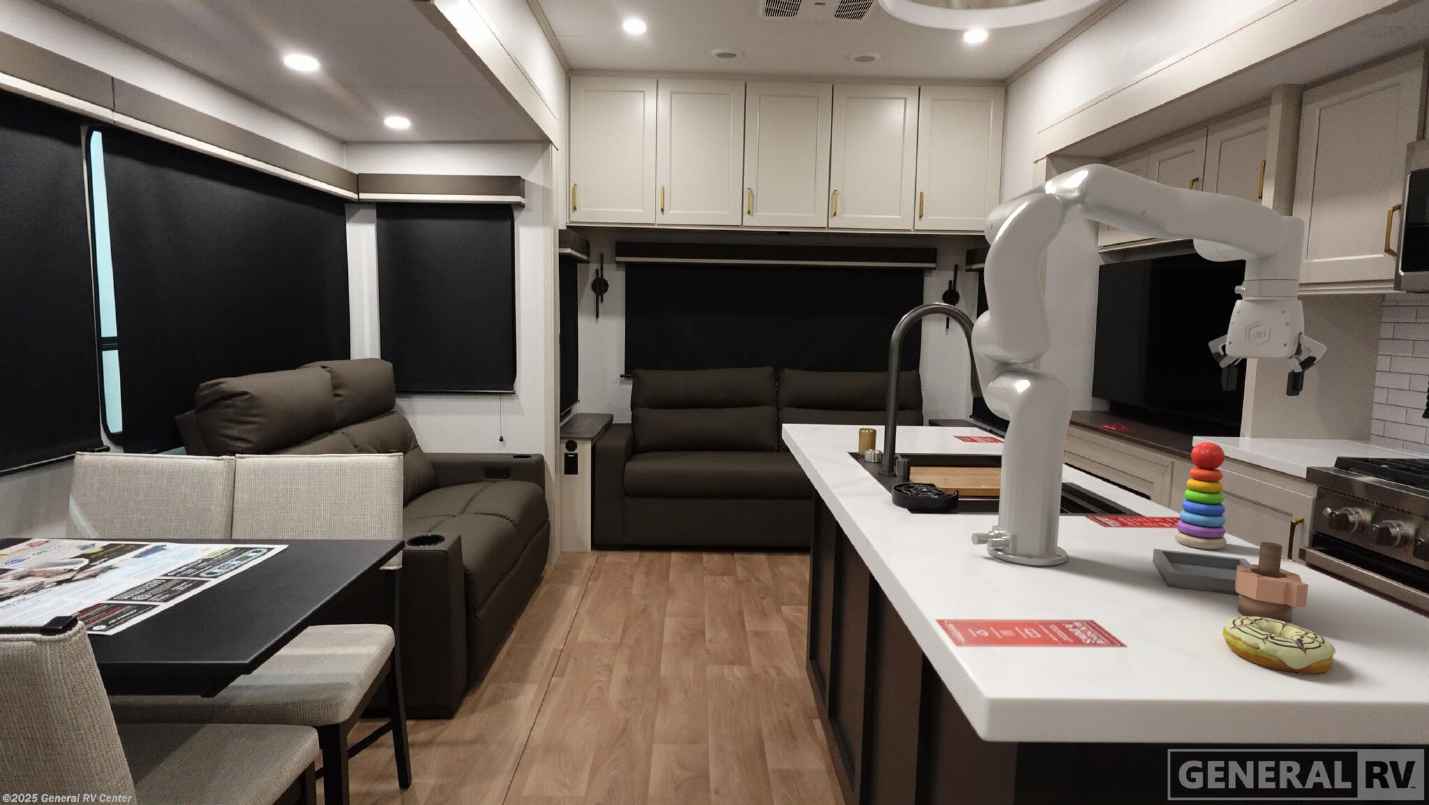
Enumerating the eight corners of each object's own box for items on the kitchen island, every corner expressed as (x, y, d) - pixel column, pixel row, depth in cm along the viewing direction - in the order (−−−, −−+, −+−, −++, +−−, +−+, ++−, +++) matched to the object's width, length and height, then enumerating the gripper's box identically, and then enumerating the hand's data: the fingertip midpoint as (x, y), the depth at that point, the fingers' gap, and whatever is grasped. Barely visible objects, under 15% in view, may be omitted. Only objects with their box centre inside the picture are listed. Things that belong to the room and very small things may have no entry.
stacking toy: (1236, 551, 135) (1246, 446, 133) (1190, 550, 135) (1199, 445, 133) (1208, 538, 143) (1217, 439, 141) (1165, 537, 143) (1173, 438, 141)
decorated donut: (1312, 688, 85) (1315, 655, 84) (1206, 652, 93) (1209, 622, 93) (1345, 664, 91) (1349, 634, 90) (1243, 633, 99) (1246, 605, 99)
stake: (1267, 625, 102) (1274, 552, 100) (1227, 608, 107) (1233, 539, 106) (1302, 622, 103) (1310, 549, 102) (1261, 605, 109) (1268, 537, 108)
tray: (1269, 598, 112) (1271, 584, 111) (1168, 586, 116) (1169, 572, 116) (1243, 571, 124) (1245, 558, 123) (1152, 561, 128) (1153, 548, 128)
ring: (1279, 609, 99) (1281, 586, 99) (1223, 587, 107) (1225, 566, 107) (1321, 605, 101) (1323, 583, 101) (1263, 583, 109) (1265, 563, 109)
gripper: (1204, 292, 134) (1195, 389, 136) (1321, 290, 120) (1309, 398, 122) (1225, 293, 138) (1216, 387, 140) (1342, 292, 124) (1330, 397, 125)
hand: (1259, 392), depth 131 cm, fingers open, 9 cm apart
